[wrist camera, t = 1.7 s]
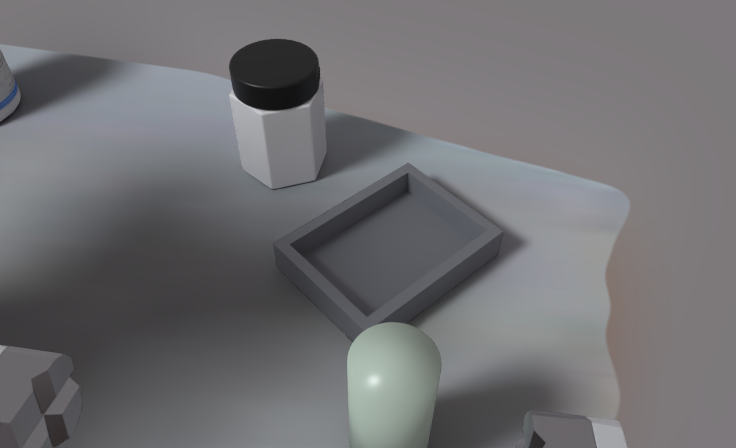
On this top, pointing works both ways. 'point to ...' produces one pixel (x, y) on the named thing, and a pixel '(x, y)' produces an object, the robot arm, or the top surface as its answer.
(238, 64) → the jar
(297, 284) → the tray
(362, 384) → the pale green cylinder
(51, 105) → the top surface
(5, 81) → the supplement tub
